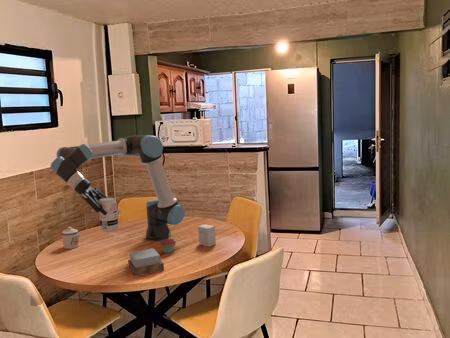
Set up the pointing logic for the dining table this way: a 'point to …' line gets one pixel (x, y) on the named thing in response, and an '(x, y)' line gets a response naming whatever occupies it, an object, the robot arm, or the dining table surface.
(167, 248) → the cupcake
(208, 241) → the small box
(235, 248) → the dining table surface
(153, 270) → the tower base slab
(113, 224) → the supplement can
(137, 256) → the tower top slab
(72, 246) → the teacup with lid
